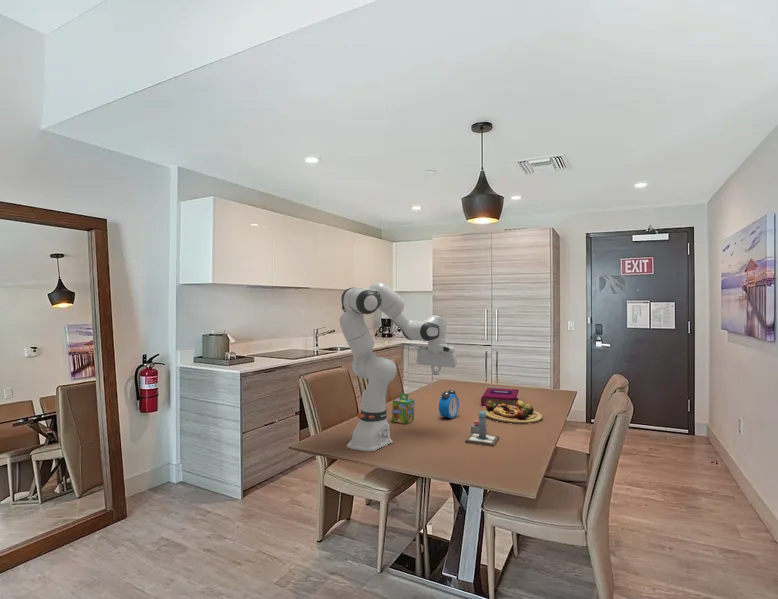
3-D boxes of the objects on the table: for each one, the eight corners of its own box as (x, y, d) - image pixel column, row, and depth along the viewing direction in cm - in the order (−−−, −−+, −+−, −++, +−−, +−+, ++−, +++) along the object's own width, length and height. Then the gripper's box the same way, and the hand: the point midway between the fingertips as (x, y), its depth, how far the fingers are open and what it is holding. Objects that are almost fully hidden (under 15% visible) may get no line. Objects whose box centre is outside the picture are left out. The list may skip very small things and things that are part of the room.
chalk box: (391, 422, 247) (391, 394, 247) (399, 418, 255) (399, 391, 255) (407, 424, 243) (407, 396, 243) (414, 420, 251) (414, 393, 251)
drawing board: (493, 446, 207) (493, 443, 207) (465, 442, 213) (465, 439, 213) (499, 438, 219) (499, 435, 219) (471, 435, 225) (471, 432, 225)
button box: (483, 436, 223) (484, 427, 223) (470, 434, 226) (470, 426, 226) (486, 432, 229) (486, 424, 229) (473, 431, 231) (473, 423, 231)
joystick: (485, 439, 214) (485, 413, 214) (477, 438, 215) (478, 412, 215) (486, 437, 217) (486, 411, 217) (479, 436, 218) (479, 410, 218)
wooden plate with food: (471, 416, 261) (472, 402, 261) (503, 407, 283) (503, 393, 283) (523, 429, 238) (523, 413, 238) (552, 418, 260) (553, 403, 260)
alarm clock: (447, 420, 250) (448, 393, 250) (438, 419, 254) (438, 391, 254) (459, 416, 261) (459, 389, 261) (449, 414, 265) (449, 388, 265)
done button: (482, 430, 225) (482, 422, 225) (473, 429, 226) (473, 421, 226) (483, 427, 228) (483, 420, 228) (475, 426, 230) (475, 419, 230)
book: (480, 407, 285) (480, 394, 285) (486, 398, 311) (486, 386, 311) (516, 409, 278) (516, 397, 278) (518, 400, 305) (518, 388, 305)
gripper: (415, 346, 234) (414, 373, 234) (454, 348, 226) (453, 377, 226) (419, 345, 240) (418, 372, 240) (458, 348, 232) (457, 375, 232)
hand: (435, 374), depth 233 cm, fingers closed
